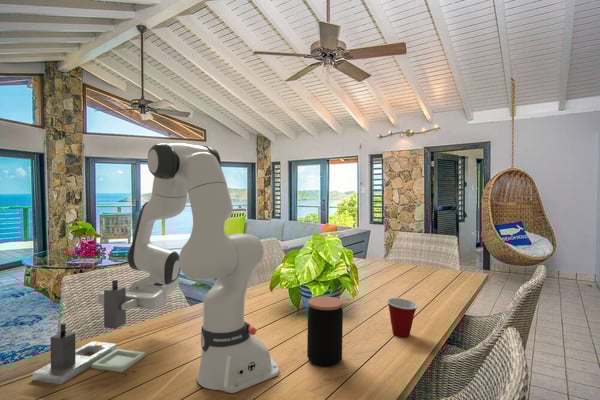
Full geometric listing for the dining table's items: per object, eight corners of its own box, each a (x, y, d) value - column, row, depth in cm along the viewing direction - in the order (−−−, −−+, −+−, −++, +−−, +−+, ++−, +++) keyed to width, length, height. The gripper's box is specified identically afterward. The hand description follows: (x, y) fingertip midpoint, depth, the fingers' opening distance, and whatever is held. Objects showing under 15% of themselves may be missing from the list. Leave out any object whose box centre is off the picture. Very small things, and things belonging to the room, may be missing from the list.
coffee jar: (339, 351, 112) (340, 296, 112) (344, 368, 102) (345, 307, 101) (306, 351, 112) (306, 296, 112) (308, 368, 101) (308, 307, 101)
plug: (114, 322, 106) (114, 278, 106) (125, 323, 105) (125, 279, 105) (104, 327, 102) (103, 281, 102) (116, 328, 101) (115, 282, 101)
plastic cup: (419, 342, 120) (420, 307, 120) (387, 339, 122) (387, 305, 122) (415, 330, 131) (416, 298, 130) (385, 327, 133) (386, 296, 132)
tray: (116, 353, 109) (116, 348, 109) (145, 357, 107) (145, 352, 107) (91, 369, 99) (91, 364, 99) (122, 373, 97) (122, 368, 97)
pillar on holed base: (92, 348, 112) (92, 305, 112) (116, 351, 110) (116, 307, 110) (32, 381, 93) (32, 329, 92) (60, 386, 91) (60, 332, 91)
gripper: (116, 281, 118) (82, 293, 105) (170, 285, 114) (142, 298, 100) (116, 299, 118) (82, 313, 105) (170, 304, 114) (143, 320, 100)
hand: (112, 306), depth 102 cm, fingers closed on plug, 4 cm apart
